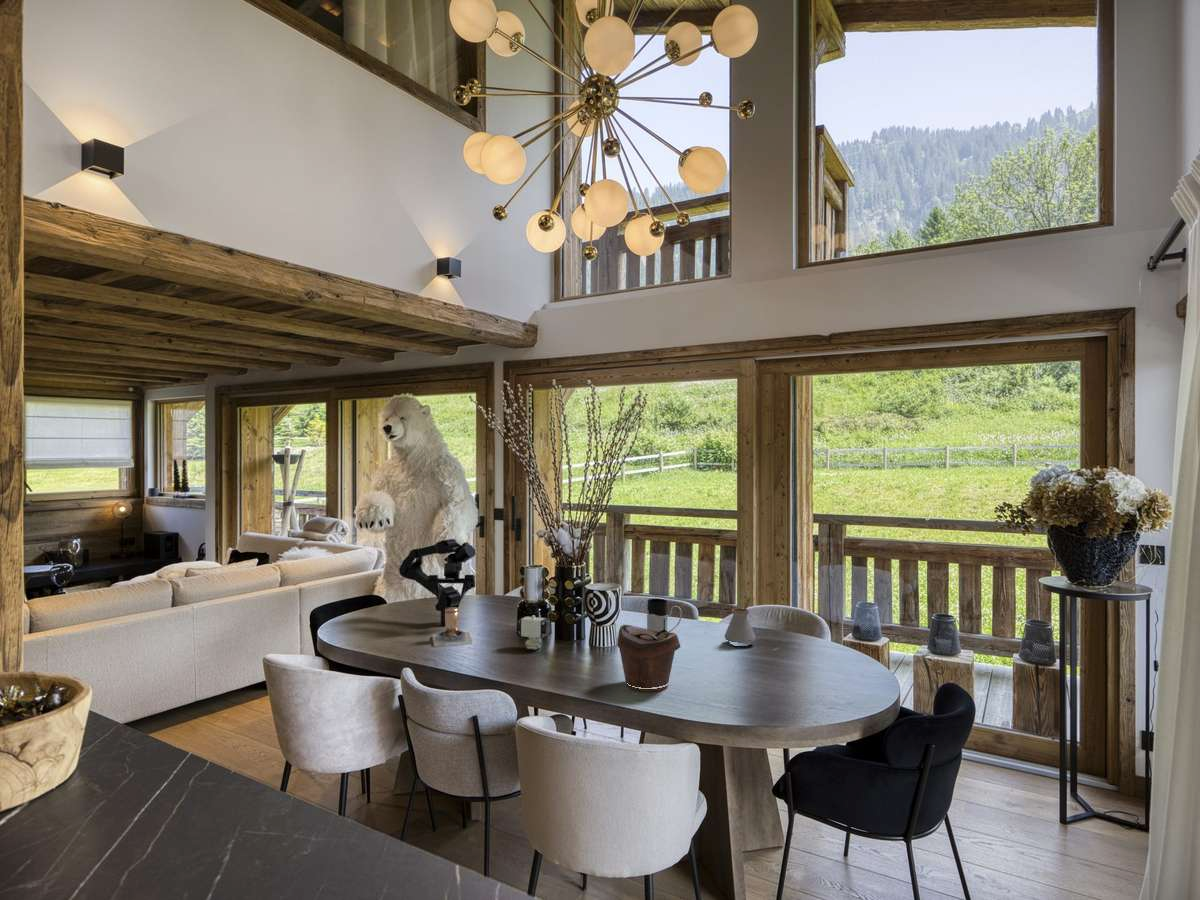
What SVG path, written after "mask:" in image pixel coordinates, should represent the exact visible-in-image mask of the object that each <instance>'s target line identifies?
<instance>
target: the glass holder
mask: <svg viewBox="0 0 1200 900" xmlns="http://www.w3.org/2000/svg"><path fill="white" fill-rule="evenodd" d="M674 608H678V609H679V611H680V617H679V620H678V622H677V624H676V625H675V626H674V627H672V629H670V630H668V617H671V616H672V613H673V612H672V611H673V609H674ZM682 611H683V610H682V608H681V607H680V606H679V605H674V606H671V608H670V612H669V614H668V600H667V599H663V598H650V599H649V598H648V599H647V607H646V613H647V614H646V629H648V630H652V631H657V632H660V631H662V630H666V631H668V632H669V633H672V631H673V630H674V629H676V628H677V627H678V626H679V624H680V623H681V619H682V615H683V614H682Z"/></svg>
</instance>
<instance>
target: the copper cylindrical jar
mask: <svg viewBox="0 0 1200 900" xmlns="http://www.w3.org/2000/svg"><path fill="white" fill-rule="evenodd" d="M459 609H460V608H459V607H458V608H457V607H449V608H445V626H444V627H445V631H444V632H445V636H457V635H459V631H460V630H459V629H460V627H459V626H460V624H459V622H460V621H459V619H460V618H459V616H460V615H459V612H460V610H459Z"/></svg>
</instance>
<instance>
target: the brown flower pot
mask: <svg viewBox="0 0 1200 900" xmlns="http://www.w3.org/2000/svg"><path fill="white" fill-rule="evenodd" d="M617 635H618V636H617V647H618V649H619V652H620V658H621V664H622V669H623V675H624V679H625V685H626V686H627V688H629V689H631V690H633V691H637V692H640V693H641V692H642V693H651V692H652V693H654V692H660V691H663V690H666V689H667V688H668V687H669V682H670V676H671V673H672V672H671V671H672V666H673V662H674V656H675V653H676V652H675V651H677V650H679V649H680V648H681V643H680V640H679V637H678V635H677V634H676V633H675V632H669V630H667V631H666V630H662V631H660V632H657V631H652V630H648V629H647V628H645V627H644V628H643V627H638V626H634V625H632V624H631V625H630V624H622V625H621V626H620V628H619V629H618V633H617ZM627 683H628V684H629V685H631V686H629V685H628V684H627ZM667 683H668V685H667V686H665V687H662V688H657V689H639V688H635V687H641V688H652V687H659V686H663V685H666V684H667ZM632 686H635V687H632Z"/></svg>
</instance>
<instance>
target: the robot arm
mask: <svg viewBox="0 0 1200 900" xmlns="http://www.w3.org/2000/svg"><path fill="white" fill-rule="evenodd" d="M435 554H438V555H446V554H447V556H446V557H445V558H444V559H443V561H445V562H446V563H444V567H443V568H444V569H443V572H444V573H443V576H444V577H442V578H441V577H439V575H438V574H429V575H428V574H426V572H424V571H423V568H422V564H423V558H424V557H426V556H430V555H435ZM475 556H476V549H475V547H474V546H472V545H471V544H470V543H469V542H468V541H466V542H464V543H462V544H460V543H458V542H457V541H456V540H455V538H449V539H442V540H439V541H438V542H436V543H435V544H432V545H427V546H424V547H419V548H413V549H411V550H410V551H409V554H408V555H407V556H406V557H405V558H404V560H402V562H401V565H400V566H399V568H398V569H399V575H400V576H401V577H403V578H405V579H408V580H411V581H415V583H418V584H419V585H420V586H422V587H423V588H424V589H426V590H427V591H428V592H429V593H431V594H432V595H435V597H436V600H437V603H436V604H435V605H434V607H435V611H438V612H440V614H439V617H440V618H439V620H440V621H438V625H439V626H440V627H445V608H449V607H457V608H459V606H460V604H461V601H462V600H463V598H464V597H465V595H466V594H467V592H469V590H472V589H473V588H475V587H476V575H474V574H464V578H463V577H460V575H461V574H460V573H461V571H462V570H463V563H464V564H465V563H466V562H467V561H469V560H471V559H472V558H473V557H475ZM442 584H449V585H451V584H452V585H453V584H454V585H455V584H459V585H461V584H462V587H461V593H460V592H459V590H458V589H455V587H453V586H452V585H451V586H446V587H444V586H443V585H442Z"/></svg>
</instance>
